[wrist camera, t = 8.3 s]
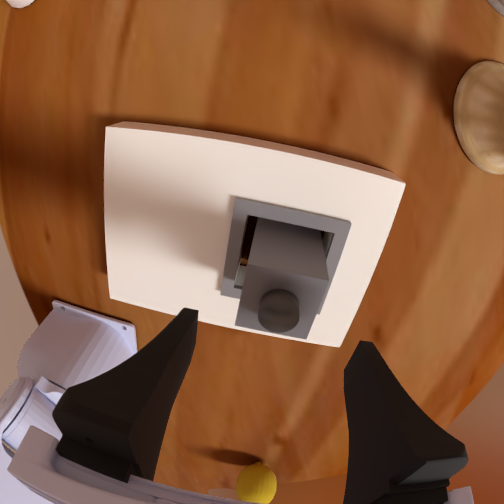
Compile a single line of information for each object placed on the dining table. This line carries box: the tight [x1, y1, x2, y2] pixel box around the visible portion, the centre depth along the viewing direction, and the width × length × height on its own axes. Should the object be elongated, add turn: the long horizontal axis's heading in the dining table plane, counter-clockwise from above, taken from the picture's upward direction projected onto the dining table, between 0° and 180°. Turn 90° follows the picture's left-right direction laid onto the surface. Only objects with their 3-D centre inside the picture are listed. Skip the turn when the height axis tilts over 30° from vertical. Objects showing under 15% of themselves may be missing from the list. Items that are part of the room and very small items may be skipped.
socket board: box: [104, 121, 406, 347], centre depth 21 cm, size 18×13×3 cm
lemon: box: [236, 462, 277, 504], centre depth 36 cm, size 6×6×8 cm
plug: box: [235, 217, 329, 339], centre depth 19 cm, size 4×4×8 cm
